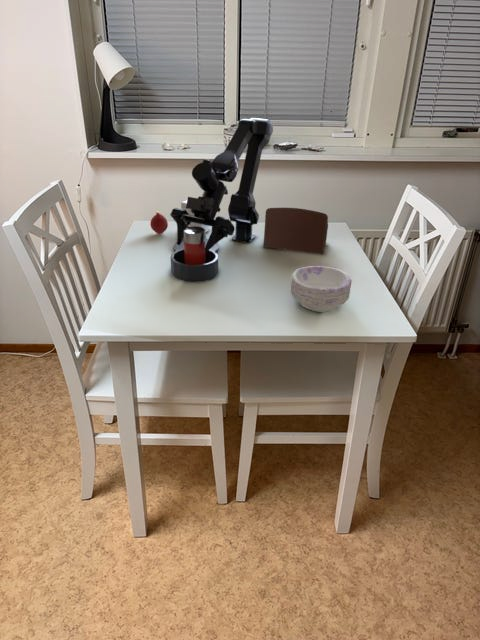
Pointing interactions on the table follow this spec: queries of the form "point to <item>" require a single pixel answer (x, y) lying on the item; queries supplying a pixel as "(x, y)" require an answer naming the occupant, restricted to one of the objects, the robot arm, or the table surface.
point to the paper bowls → (320, 287)
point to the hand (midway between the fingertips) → (191, 247)
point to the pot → (194, 267)
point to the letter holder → (295, 230)
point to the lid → (214, 248)
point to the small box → (183, 206)
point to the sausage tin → (194, 245)
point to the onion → (159, 223)
